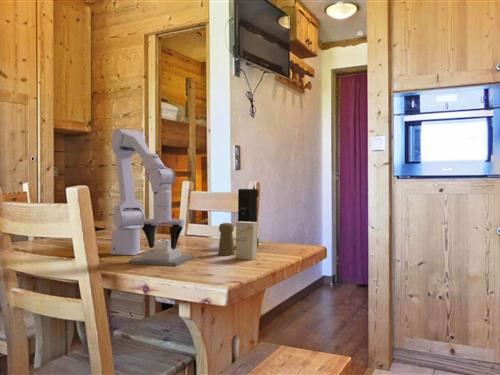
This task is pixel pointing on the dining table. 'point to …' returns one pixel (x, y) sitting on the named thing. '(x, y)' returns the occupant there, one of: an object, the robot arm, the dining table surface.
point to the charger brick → (162, 245)
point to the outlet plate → (162, 258)
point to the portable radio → (247, 205)
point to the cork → (226, 240)
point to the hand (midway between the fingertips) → (162, 248)
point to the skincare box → (246, 240)
